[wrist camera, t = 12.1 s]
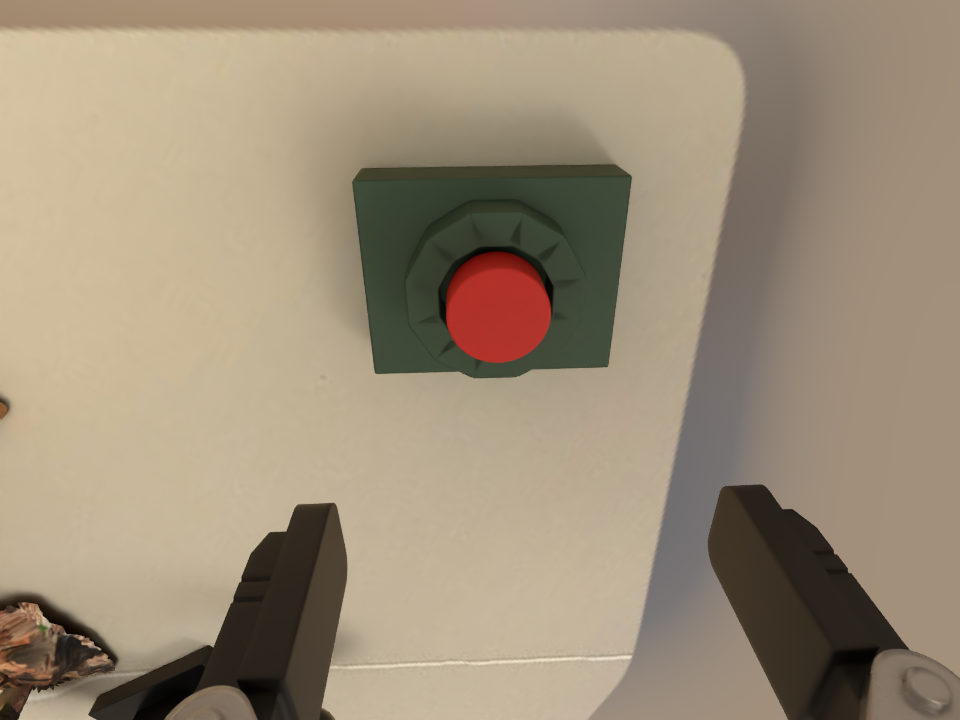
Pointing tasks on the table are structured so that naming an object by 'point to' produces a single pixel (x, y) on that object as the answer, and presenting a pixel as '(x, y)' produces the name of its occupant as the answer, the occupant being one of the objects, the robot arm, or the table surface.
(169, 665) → the bracket
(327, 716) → the lever
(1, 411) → the lion figurine
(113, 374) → the table surface
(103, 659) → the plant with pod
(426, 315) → the button block
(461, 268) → the button
